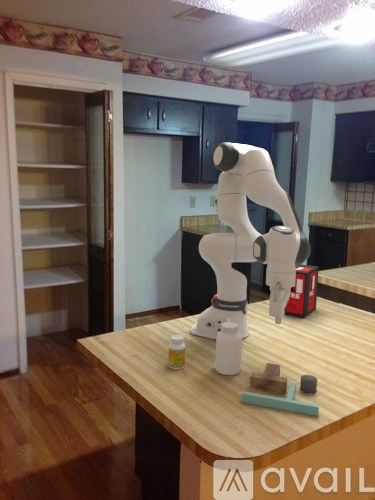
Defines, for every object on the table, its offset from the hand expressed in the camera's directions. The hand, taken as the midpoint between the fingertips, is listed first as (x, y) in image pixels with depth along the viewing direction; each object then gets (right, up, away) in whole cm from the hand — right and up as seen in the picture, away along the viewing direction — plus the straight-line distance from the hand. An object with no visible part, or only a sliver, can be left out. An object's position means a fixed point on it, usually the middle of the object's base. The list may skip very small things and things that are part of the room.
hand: (278, 322), depth 137 cm
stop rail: (-3, -18, -17) cm, 25 cm away
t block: (-4, -17, -7) cm, 18 cm away
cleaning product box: (+22, -5, +60) cm, 65 cm away
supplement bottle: (-32, -15, +3) cm, 35 cm away
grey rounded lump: (+6, -17, -11) cm, 22 cm away
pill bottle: (-16, -15, 0) cm, 22 cm away
